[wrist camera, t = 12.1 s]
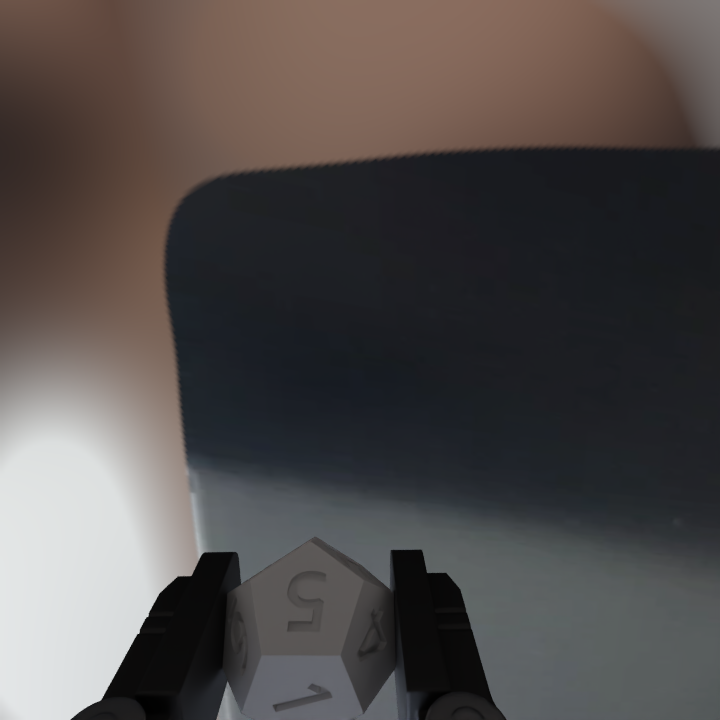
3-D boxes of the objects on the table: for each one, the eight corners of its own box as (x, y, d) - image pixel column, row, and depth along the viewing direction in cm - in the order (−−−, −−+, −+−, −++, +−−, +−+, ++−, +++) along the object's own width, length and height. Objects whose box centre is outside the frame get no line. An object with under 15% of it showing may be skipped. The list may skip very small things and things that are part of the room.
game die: (215, 537, 11) (164, 647, 8) (368, 493, 11) (373, 591, 8) (268, 655, 12) (240, 791, 9) (411, 616, 12) (429, 744, 9)
